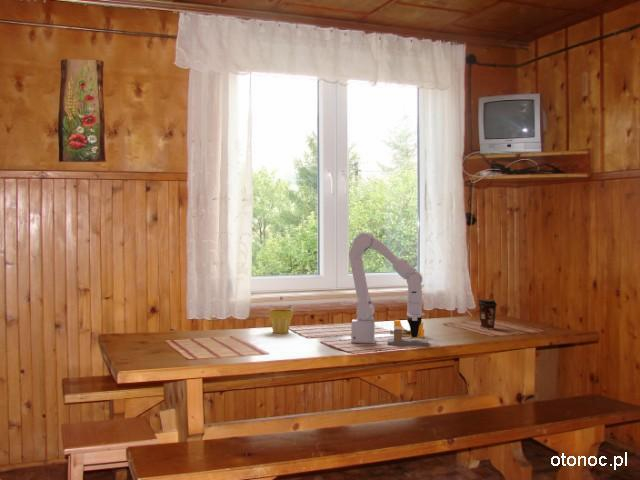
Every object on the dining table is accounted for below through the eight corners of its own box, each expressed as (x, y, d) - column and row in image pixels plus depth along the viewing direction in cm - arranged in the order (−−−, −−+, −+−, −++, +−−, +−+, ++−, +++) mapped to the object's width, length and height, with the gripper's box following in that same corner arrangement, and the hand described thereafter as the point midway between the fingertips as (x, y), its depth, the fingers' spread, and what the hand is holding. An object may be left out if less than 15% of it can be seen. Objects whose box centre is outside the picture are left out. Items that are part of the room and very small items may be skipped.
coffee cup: (473, 327, 315) (473, 299, 315) (488, 326, 318) (488, 298, 318) (485, 330, 307) (486, 301, 307) (500, 329, 311) (500, 300, 310)
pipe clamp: (424, 336, 290) (424, 321, 290) (421, 338, 286) (421, 322, 286) (397, 334, 295) (397, 319, 295) (394, 336, 291) (394, 321, 291)
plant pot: (294, 330, 303) (294, 308, 303) (291, 334, 293) (291, 311, 292) (271, 330, 304) (271, 308, 304) (267, 333, 294) (267, 311, 293)
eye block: (387, 344, 269) (387, 329, 269) (388, 341, 277) (388, 326, 276) (428, 345, 267) (428, 330, 267) (427, 342, 275) (428, 327, 274)
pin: (390, 338, 271) (390, 326, 271) (390, 336, 274) (390, 325, 274) (418, 338, 270) (418, 327, 270) (418, 337, 273) (418, 326, 272)
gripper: (425, 304, 263) (425, 339, 264) (424, 300, 278) (424, 333, 278) (406, 304, 264) (406, 339, 264) (406, 300, 279) (406, 333, 279)
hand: (414, 336), depth 271 cm, fingers closed on pin, 3 cm apart
